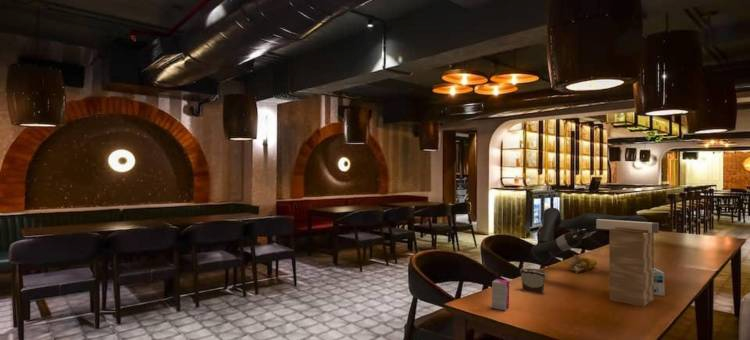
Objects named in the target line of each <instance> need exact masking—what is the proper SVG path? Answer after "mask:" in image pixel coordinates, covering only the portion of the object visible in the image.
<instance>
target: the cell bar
mask: <svg viewBox="0 0 750 340" xmlns="http://www.w3.org/2000/svg"><path fill="white" fill-rule="evenodd" d="M615 227H618V228H629V229H641V230H649V233H654V234H658V233H659V232H660V230H659V228H660V223H659V222H651V221H650V222H649V221H648V222H636V221H620V220H605V219H597V220H596V228H597V229H615Z"/></svg>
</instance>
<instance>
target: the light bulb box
mask: <svg viewBox="0 0 750 340" xmlns="http://www.w3.org/2000/svg"><path fill="white" fill-rule="evenodd" d="M665 291H666V290H665V272H663V271H662V270H659V269H657V268H656V267H654V296H664V297H665V294H666V293H665Z"/></svg>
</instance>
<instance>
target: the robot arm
mask: <svg viewBox="0 0 750 340" xmlns="http://www.w3.org/2000/svg"><path fill="white" fill-rule="evenodd" d="M542 214H543V216H542V217H543V221H542V226H541V230H540V233H539V237H538V240H537V243H536V244H534V245H533V246H532V248H531V249H530V250H531V251H530V252H531V254H532V256H534V257H535V259H536V260H537V261H538V262H539V263H541V264H542V265H545V264H546V265H547V264H549V263H550V262H551V260H552V258H553V255H559V254H561V253H564V252H565V251H568V250H572V249H573V248H575V247H577V246H580V245H581V244H582V242H583V241H582V240H583V239H586V238H587V237H591V236H592V235H594V234H595V233H597V232H598V231H599V232H600V231H610V229H597V228H596V220H597V219H605V220H620V221H636V222H649V221H648V219H647V218H646V217H644V216H643V215H638V214H637V215H635V214H633V215H614V214H613V215H611V214H603V213H590V212H589V213H583V214H581V215H578V216H575V217H574V218H570V219H562V216H561V212H560V210H559V209H558V208H555V207H548V208H546V209H545V210H544V211H543V213H542ZM555 230H570V231H568V232H566V233H563V234H562V235H559V236H558V237H557V238H554V237H555ZM576 230H578V231H576Z"/></svg>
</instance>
